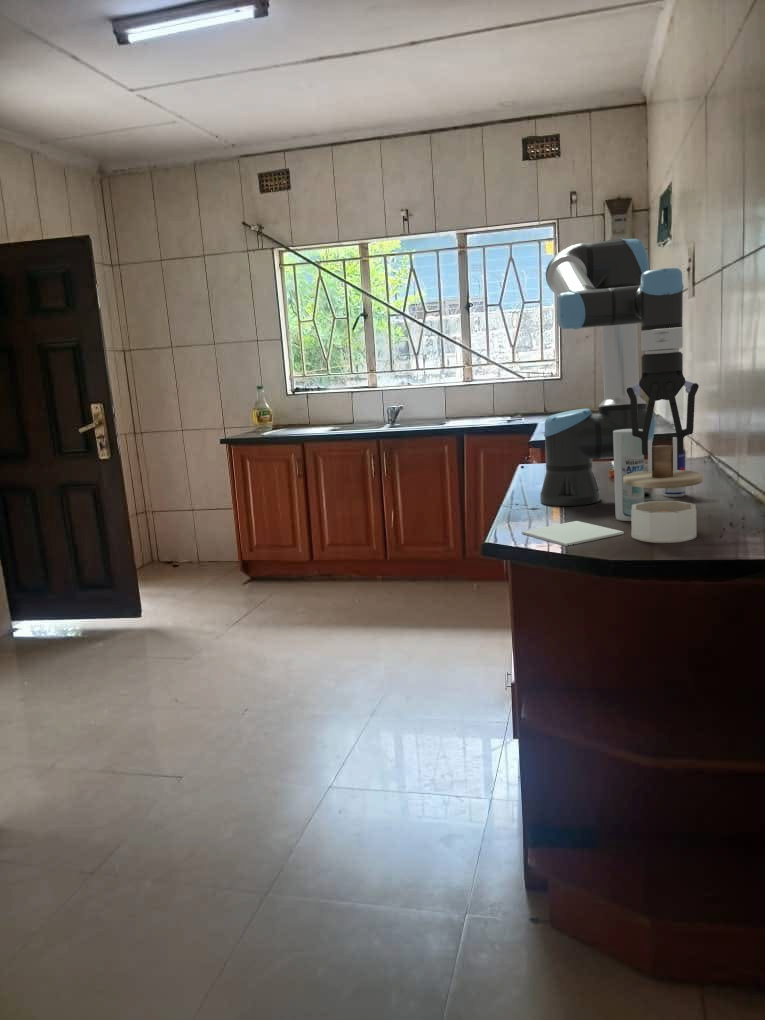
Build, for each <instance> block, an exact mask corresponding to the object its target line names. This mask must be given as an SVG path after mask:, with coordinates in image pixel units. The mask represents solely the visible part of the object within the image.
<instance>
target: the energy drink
mask: <svg viewBox="0 0 765 1020" xmlns="http://www.w3.org/2000/svg"><path fill="white" fill-rule="evenodd" d="M677 470H685V471H686V450H685V448H684V447H683V453H682V454H677ZM686 491H687V490H686V487H677V488H662V495H663V496H664V497H666V498H667V497H668V498H680V497H681V498H683V497H684V496H685V495H686Z"/></svg>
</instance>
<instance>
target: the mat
mask: <svg viewBox="0 0 765 1020" xmlns="http://www.w3.org/2000/svg"><path fill="white" fill-rule="evenodd" d="M624 533H625V531H622V530H619V529H613V528H610V527H606V526H601V525H597V524H593V523H590V522H589V523H587V522H583V521H579V520H574V521H568V522H563V523H558V524H553V525H548V526H544V527H543V526H542V527H539V528H533V529H528V530H523V531H521V534H522V535H524V536H525V535H526V536H530V537H532V538H537V539H539V540H542V541H546V542H550V543H554V544H557V545H561V546H564V547H568V545H569V546H573V544H574V545H578V544H582V543H587V542H592V541H596V540H600V539H606V538H610V537H615V536H620V535H624Z"/></svg>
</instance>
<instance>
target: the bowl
mask: <svg viewBox="0 0 765 1020" xmlns="http://www.w3.org/2000/svg"><path fill="white" fill-rule="evenodd" d="M696 507H697V506H696V503H690V502H686V501H679V500H649V501H644V503H638V504H633V505H632V509H631V521H630V522H631V525H630V526H631V533H630V534H631V538H633V539H635V540H636V541H640V542H645V543H655V544H672V543H674V544H675V543H684V542H688V541H692V540H695V539H696V538H697V536H698V535H697V508H696Z"/></svg>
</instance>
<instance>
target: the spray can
mask: <svg viewBox="0 0 765 1020" xmlns="http://www.w3.org/2000/svg"><path fill="white" fill-rule="evenodd" d="M639 430H640V431H643V429H639ZM613 445H614V458H613V469H614V470H613V474H614V505H615V506H614V507H615V508H614V509H615V511H614V513H615V519H616V520H618V521H622V522H623V521H624V522H631V509H632V505H633V504H638V503H644V502H645V488H642V487H634V486H629V485H626V484H624V482H623V477H624V476H625V475H627V474H630V473H634V472H640V471H645V455H643V454H642V440H641V438H639V437H634V436H633V435H632V429H621V430H615V431H613Z"/></svg>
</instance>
